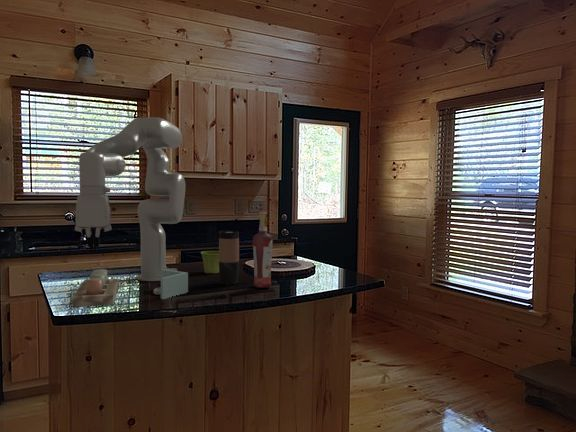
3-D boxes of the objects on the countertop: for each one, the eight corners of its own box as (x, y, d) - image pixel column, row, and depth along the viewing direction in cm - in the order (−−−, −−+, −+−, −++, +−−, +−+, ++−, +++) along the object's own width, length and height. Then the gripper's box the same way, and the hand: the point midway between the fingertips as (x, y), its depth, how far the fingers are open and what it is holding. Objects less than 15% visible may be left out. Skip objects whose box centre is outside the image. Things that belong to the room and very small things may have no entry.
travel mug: (242, 282, 189) (242, 231, 188) (232, 286, 182) (232, 232, 181) (225, 280, 192) (225, 229, 191) (214, 284, 186) (214, 231, 184)
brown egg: (103, 293, 160) (103, 277, 160) (101, 296, 155) (101, 280, 155) (87, 293, 159) (87, 278, 158) (85, 297, 154) (85, 281, 154)
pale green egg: (105, 287, 168) (105, 273, 167) (104, 290, 163) (104, 276, 163) (90, 288, 166) (90, 273, 166) (89, 291, 162) (88, 276, 161)
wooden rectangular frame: (119, 286, 179) (119, 278, 179) (113, 304, 154) (113, 295, 154) (84, 288, 176) (83, 280, 176) (72, 306, 151) (71, 297, 151)
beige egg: (108, 282, 175) (107, 269, 175) (106, 285, 171) (106, 271, 170) (93, 283, 174) (93, 269, 174) (92, 286, 170) (91, 272, 169)
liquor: (268, 290, 176) (269, 212, 174) (249, 288, 178) (249, 212, 176) (274, 286, 183) (275, 211, 181) (256, 284, 185) (257, 211, 183)
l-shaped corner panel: (163, 289, 178) (163, 269, 177) (188, 293, 172) (187, 272, 171) (137, 296, 168) (137, 274, 167) (163, 300, 162) (162, 278, 161)
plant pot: (213, 269, 215) (214, 250, 214) (227, 272, 209) (227, 252, 208) (196, 272, 208) (196, 252, 208) (209, 275, 202) (209, 254, 201)
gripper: (118, 191, 160) (119, 247, 162) (68, 191, 156) (70, 248, 158) (116, 192, 153) (117, 250, 154) (64, 192, 149) (66, 251, 150)
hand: (93, 249), depth 156 cm, fingers closed
